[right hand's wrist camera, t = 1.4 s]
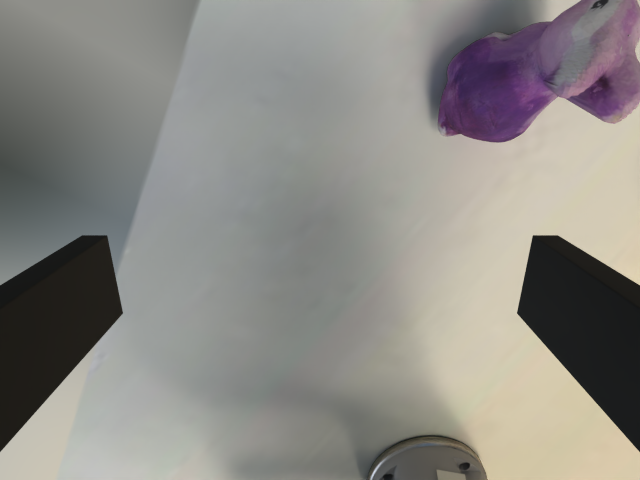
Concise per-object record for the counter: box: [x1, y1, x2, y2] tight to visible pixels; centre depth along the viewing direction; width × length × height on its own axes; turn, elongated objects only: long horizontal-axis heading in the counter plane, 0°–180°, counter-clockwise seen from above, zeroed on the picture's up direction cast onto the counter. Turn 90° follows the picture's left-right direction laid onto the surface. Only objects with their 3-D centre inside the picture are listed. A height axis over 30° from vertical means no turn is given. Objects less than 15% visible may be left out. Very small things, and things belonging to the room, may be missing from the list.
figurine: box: [438, 0, 640, 142], centre depth 28 cm, size 9×10×15 cm
